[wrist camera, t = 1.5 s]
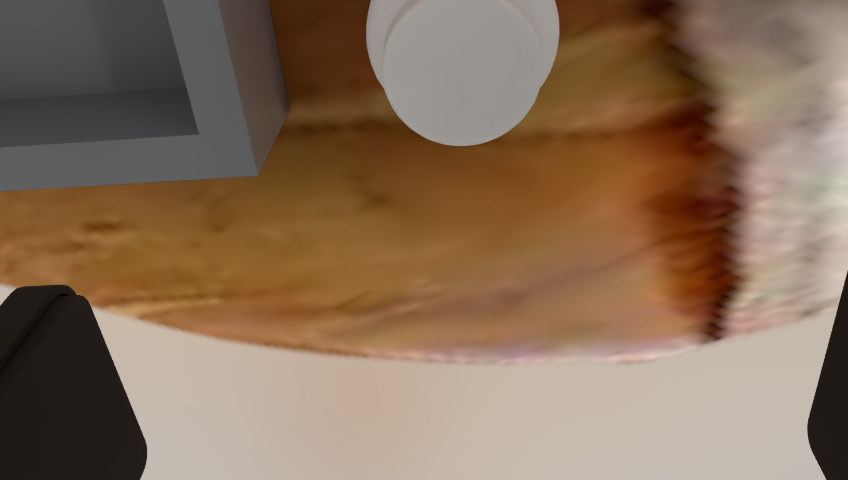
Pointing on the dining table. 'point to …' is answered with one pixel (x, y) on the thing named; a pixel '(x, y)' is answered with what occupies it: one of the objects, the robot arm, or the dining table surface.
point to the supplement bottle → (462, 63)
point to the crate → (136, 91)
